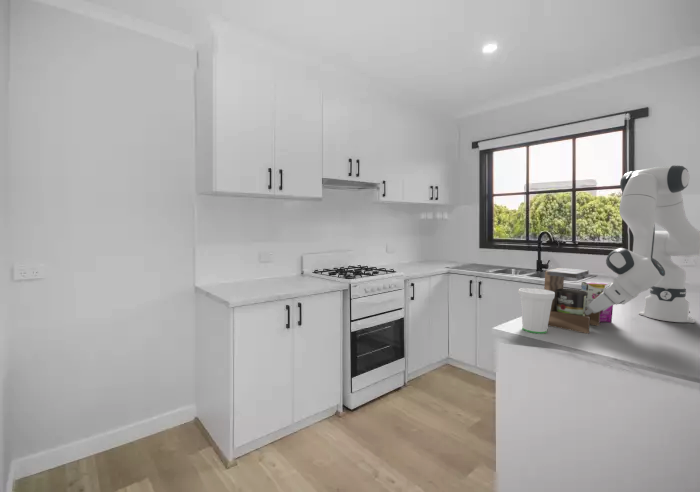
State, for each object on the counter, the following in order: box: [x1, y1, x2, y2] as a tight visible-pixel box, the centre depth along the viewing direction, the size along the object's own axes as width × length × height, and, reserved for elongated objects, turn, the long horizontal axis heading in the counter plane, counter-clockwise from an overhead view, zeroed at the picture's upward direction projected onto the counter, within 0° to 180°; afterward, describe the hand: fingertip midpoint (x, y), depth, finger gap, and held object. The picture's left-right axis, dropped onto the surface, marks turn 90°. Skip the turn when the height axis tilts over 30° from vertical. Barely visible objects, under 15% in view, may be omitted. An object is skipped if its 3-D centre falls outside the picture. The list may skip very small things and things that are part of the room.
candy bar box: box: [580, 281, 614, 323], centre depth 155 cm, size 11×5×16 cm, turn 84°
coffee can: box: [556, 288, 587, 316], centre depth 148 cm, size 10×10×14 cm
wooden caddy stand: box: [543, 267, 600, 334], centre depth 147 cm, size 18×16×22 cm
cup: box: [518, 287, 555, 335], centre depth 139 cm, size 12×12×15 cm
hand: (586, 313), depth 144 cm, fingers closed
